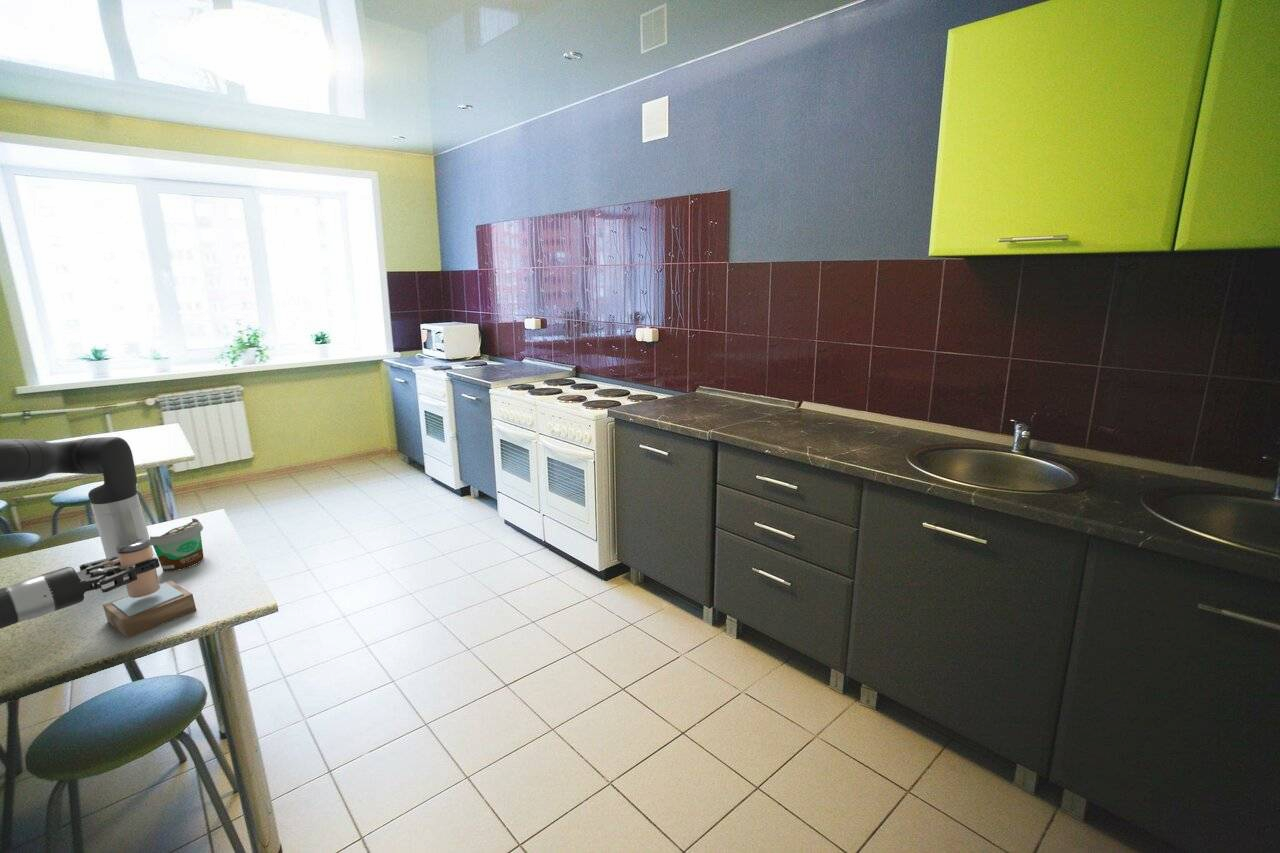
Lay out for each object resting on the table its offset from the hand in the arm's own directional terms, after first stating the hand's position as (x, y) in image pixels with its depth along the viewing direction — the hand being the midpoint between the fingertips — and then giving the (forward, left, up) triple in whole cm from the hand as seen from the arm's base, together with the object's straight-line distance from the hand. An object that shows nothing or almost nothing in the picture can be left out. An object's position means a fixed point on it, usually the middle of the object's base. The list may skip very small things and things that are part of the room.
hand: (152, 558), depth 125 cm
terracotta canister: (0, -3, -6) cm, 7 cm away
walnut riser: (0, -2, -13) cm, 13 cm away
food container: (-22, +13, -13) cm, 28 cm away
